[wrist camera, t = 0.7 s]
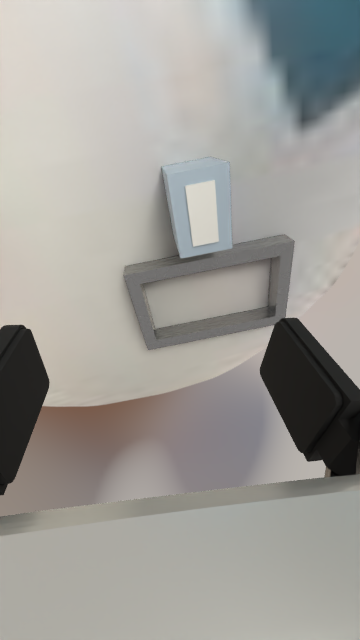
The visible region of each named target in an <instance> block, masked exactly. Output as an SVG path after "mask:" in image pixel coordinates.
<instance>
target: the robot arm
mask: <svg viewBox="0 0 360 640" xmlns="http://www.w3.org/2000/svg"><path fill="white" fill-rule="evenodd" d="M260 375H261V377H262V379H263V381H264V383H265V385H266V387H267V389H268V391H269V393H270V395H271V397H272V399H273V401H274V403H275V405H276V407H277V409H278V411H279V413H280V415H281V417H282V419H283V421H284V423H285V425H286V427H287V429H288V431H289V433H290V435H291V437H292V439H293V441H294V443H295V445H296V447H297V449H298V450H299V451H300V452H301V453H303V454H304V456H305V458H306V460H307V461H318V460H323V461H324V463H325V465H326V470H325V477H324V478H315V479H306V480H297V481H289V482H279V483H271V484H262V485H254V486H245V487H236V488H227V489H219V490H210V491H203V492H202V491H201V492H193V493H184V494H176V495H168V496H160V497H152V498H143V499H134V500H126V501H118V502H111V503H102V504H94V505H86V506H78V507H70V508H61V509H54V510H45V511H38V512H31V513H23V514H16V515H9V516H2V517H0V640H360V389H359V388H358V387H357V386H356V385H355V384H354V383H353V381H352V380H351V379H350V378H349V377H348V376H347V375H346V373H344V371H343V370H342V369H341V368H340V366H339V365H338V364H337V363H336V362H335V361H334V360H333V359H332V357H331V356H330V355H329V354H328V353H327V352H326V351H325V349H324V348H323V347H322V346H321V345H320V344H319V343H318V341H317V340H316V339H315V338H314V337H313V336H312V334H311V333H310V332H309V331H308V330H307V329H306V328H305V326H304V325H303V324H302V323H301V322H300V321H299V320H298V319H297V318H282V319H280V320H279V322H276V324H275V326H274V329H273V332H272V335H271V338H270V341H269V344H268V347H267V349H266V352H265V356H264V358H263V361H262V364H261V367H260ZM48 389H49V378H48V375H47V373H46V370H45V367H44V364H43V362H42V359H41V356H40V353H39V351H38V348H37V345H36V342H35V340H34V337H33V334H32V332H31V330H30V329H26V327H25V326H24V325H5V326H3V327H2V328H1V329H0V495H4V492H5V490H6V487H7V485H8V483H11V482H13V480H14V479H15V477H16V474H17V471H18V469H19V466H20V463H21V461H22V458H23V455H24V453H25V450H26V448H27V445H28V442H29V440H30V437H31V434H32V432H33V429H34V426H35V423H36V421H37V418H38V415H39V413H40V410H41V407H42V405H43V402H44V400H45V397H46V394H47V392H48Z"/></svg>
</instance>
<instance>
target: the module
mask: <svg viewBox="0 0 360 640" xmlns="http://www.w3.org/2000/svg"><path fill="white" fill-rule="evenodd" d="M162 173H163V178H164V184H165V190H166V196H167V201H168V207H169V213H170V219H171V224H172V230H173V236H174V239H175V242H176V245H177V249H178V252H179V255H180V258H181V259H182V258H187V257H192V256H197V255H202V254H207V253H212V252H217V251H222V250H227V249H232V220H231V189H230V162H227V161H223V160H220V159H216V158H213V157H207V158H202V159H197V160H192V161H187V162H182V163H177V164H172V165H167V166H162Z"/></svg>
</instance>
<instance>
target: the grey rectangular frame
mask: <svg viewBox="0 0 360 640" xmlns="http://www.w3.org/2000/svg"><path fill="white" fill-rule="evenodd" d="M294 242H295V241H294V240H292V239H291V238H289V237H288V236H286V235H285V234H284V235H279V236H274V237H269V238H264V239H259V240H254V241H249V242H244V243H239V244H234V245H232V249H227V250H222V251H217V252H212V253H207V254H202V255H197V256H192V257H187V258H182V259H181V258H180V255H179V256H174V257H169V258H164V259H159V260H154V261H149V262H144V263H139V264H134V265H129V266H125V270H124V277H125V281H126V284H127V287H128V290H129V293H130V296H131V299H132V302H133V305H134V308H135V311H136V314H137V317H138V321H139V324H140V327H141V330H142V333H143V336H144V339H145V342H146V345H147V348H148V350H151V349H156V348H161V347H166V346H171V345H176V344H181V343H186V342H191V341H196V340H201V339H206V338H211V337H216V336H221V335H226V334H231V333H236V332H241V331H246V330H251V329H256V328H261V327H266V326H271V325H275V324H276V322H279V320H280V319H282V318H285V317H286V308H287V300H288V292H289V283H290V275H291V267H292V259H293V250H294ZM268 258H271V271H270V286H269V301H268V307H264V308H259V309H254V310H249V311H244V312H239V313H234V314H229V315H224V316H219V317H214V318H209V319H204V320H199V321H194V322H189V323H184V324H179V325H174V326H169V327H164V328H159V329H155V326H154V323H153V319H152V315H151V312H150V308H149V305H148V301H147V298H146V294H145V290H144V287H143V283H148V282H153V281H158V280H163V279H168V278H173V277H178V276H183V275H188V274H193V273H198V272H203V271H208V270H213V269H218V268H223V267H228V266H233V265H238V264H243V263H248V262H253V261H258V260H263V259H268Z"/></svg>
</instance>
